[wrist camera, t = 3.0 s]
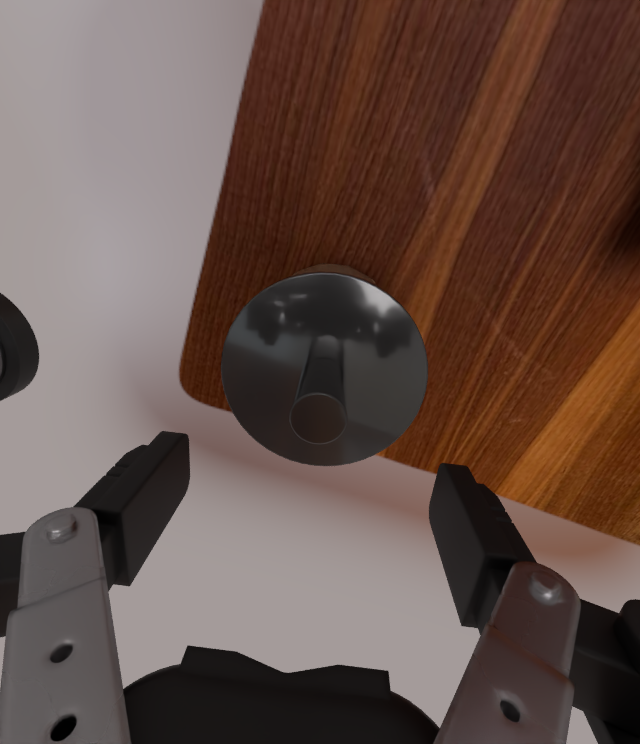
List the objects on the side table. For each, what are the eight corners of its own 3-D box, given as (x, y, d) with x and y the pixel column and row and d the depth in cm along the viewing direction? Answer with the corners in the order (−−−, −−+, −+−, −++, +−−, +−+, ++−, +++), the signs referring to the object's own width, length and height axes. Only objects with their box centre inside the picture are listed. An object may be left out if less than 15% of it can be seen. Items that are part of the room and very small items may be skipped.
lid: (226, 444, 22) (190, 510, 17) (228, 259, 18) (182, 268, 13) (404, 464, 22) (424, 537, 17) (442, 281, 18) (484, 301, 13)
